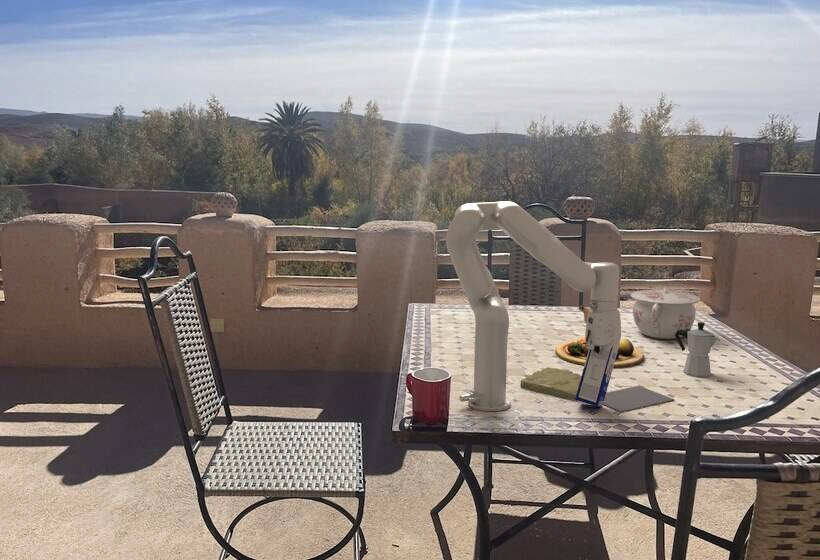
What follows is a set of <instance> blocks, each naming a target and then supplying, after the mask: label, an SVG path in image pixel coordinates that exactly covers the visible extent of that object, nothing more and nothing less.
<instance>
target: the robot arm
mask: <svg viewBox="0 0 820 560" xmlns="http://www.w3.org/2000/svg"><path fill="white" fill-rule="evenodd" d="M454 213H455V214H454V217H453V218H452V220H451V222H450V223H449V226H448V228H447V230H446V237H445V239H446V240H445V243H446V248H447V253H448V255H449V257H450V260H451V263H452V265H453V268H454V270H455V271H454V272H456V275H457V277H458V280H459V283H460V287H461V289H462V292H463V293H464V294H465V297H466V299H467V301H468V303H469V305H470V308H471V311H472V313H473V315H474V320H475V321H474V322H475V327H474V328H475V329H474V353H473V354H474V364H473V365H474V366H473V367H474V368H473V369H474V371H473V388H471V389H470V392H468V394H467V393H466V394H461V395H459V401H460V402H461V403H462V402H467V403H468V405H469V406H470V407H471V408H474V410H475V409H476V410H478V411H484V412H485V411H486V412H500V411H505V410H507V409H509V408H510V407H511V405H512V404H511V403H512V400H511V399H510V398H508V397H507V372H508V371H507V370H508V369H507V368H508V367H507V366H508V365H507V364H508V363H507V362H508V341H509V339H508V337H509V330H510V329H509V328H510V317H509V312H508V310H507V307H506V305H505V304H504V301H503V299H502V297H501V295H500V292H499V290H498V288H497V286H496V283H495V280H494V278H493V276H492V273H491V271H490V270H489V268H488V267H487V266H486V263H485V260H484V259H483V257H482V254H481V251H480V249H479V247H478V244H477V236H478V234H479V233H480V232H483V231H499V230H501V231H502V232H503V233H505V234H506V235H507V236H508V237H509V238H511V240H513V241H514V242H515V243H516V244H517V245H518V246H520V247H521V248H523V250H525V251H526V252H527V253H528V254H529V255H531V256H532V257H533V259H535V260H536V261H538V262H539V263H541V264H543V265H544V266H546V267H547V268H549V270H550V271H552V272H553V273H554V274H555V275H556V276H557V277H559V278H560V279H561V280H563V281H564V282H565V283H566V284H568V285H569V286H570V288H572V289H573V290H574V291H577V292H580V293H585V292H586V293H587V292H589V291H590V303H588V307H589V309H590V310H589V312H588V317H587V321H585V322H586V323H585V335H584V337H585V340H586V342H587V346H586V347H587V348H588V349H592V350H593V351H595V352H597V353H598V354H600V355H601V353H602V351H603V346H605V345H610V344H611V343H612V341H617V342H616V343H618V342H620V341H622V340H621V338H622V323H621V313H620V310H619V309H618V299H619V283H620V281H619V280H620V279H619V278H620V267H619V265H618V264H616V263H614V262H605V261H604V262H603V261H602V262H601V261H600V262H596V263H595V262H586V261H583V260H582V259H581V258H580V257H579V256H578V255H576V253H574V252H573V251H572V250H571V249H569V248H568V247H567V246H566V245H565V244H563V242H562V241H561V240H560V239H559V238H558V237H557V236H556V235H555V234H553V232H552V231H550V230H549V229H548V228H546V226H544V225H542V223H540V222H539V221H538V220H537V219H536V218H535V217H533V216H532V215H531V214H530V213H529V212H527V211H526V210H525V209H524V208H523V207H521V206H520V205H519V204H517V203H515V202H514V201H510V200H507V201H506V200H505V201H495V202H492V201H491V202H472V203H470V202H469V203H465V204H462V205H460V206H459V207H458V208H457V210H456V211H455V212H454Z"/></svg>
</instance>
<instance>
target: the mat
mask: <svg viewBox="0 0 820 560" xmlns="http://www.w3.org/2000/svg"><path fill="white" fill-rule="evenodd" d="M672 400H674V401H675V399H674V398H672V397H671V396H670V397H669V396H667V395H665V394H662V393H659V392H656V391H655V390H651V389H648V388H646V387H644V386H641V385H636V386H630V387H627V388H621V389H617V390H612V391H607V392H606V395H605V399H604V403H603V406H605V407H606V408H609V407H610V409H611V408H612V410H613V411H616V412H618V413H620V412H621V413H624V411H626V412H629V411H628V410H630V411H633V410H632V409H635V410H637V409H636V408H639V409H642V408H641V407H643V408H646V406H648V407H651V406H650V405H652V406H655V405H654V404H656V405H659V404H658V403H661V404H664V402H665V403H668V401H670V402H673V401H672Z"/></svg>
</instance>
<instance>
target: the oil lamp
mask: <svg viewBox="0 0 820 560" xmlns="http://www.w3.org/2000/svg"><path fill="white" fill-rule="evenodd" d="M578 310H579V311H581V312H582V313H583V320H584V321H585V322H587V317H588V312H589V310H590V307H589V308H588V307H587V306H585V305H584V304H581V305H579V307H578Z"/></svg>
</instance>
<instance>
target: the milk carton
mask: <svg viewBox="0 0 820 560" xmlns="http://www.w3.org/2000/svg"><path fill="white" fill-rule="evenodd" d="M616 342H617V341H612V343H611V344H610V345H605V346H603V351H602V353H601V355H600V354H598V353H597V352H595V351H593V350H592V349H589V351H588V354H587V358H586V362H585V365H584V366H583V369H582V373H581V380H580V383H579V387H578V391H577V394H576V398H575V400H577V402H580V403H584V404H587V405H590V406H594V407H596V408H602V407H603V406H604V405H603V403H604V399H605V395H606V392H608V388H609V385H610V384H609V383H610V381H611V377H612V373H613V370H614V368H613V366H614V362H615V359H616V355H617V351H618V348H619V344H620V342H618V343H616ZM575 400H574V401H575Z"/></svg>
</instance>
